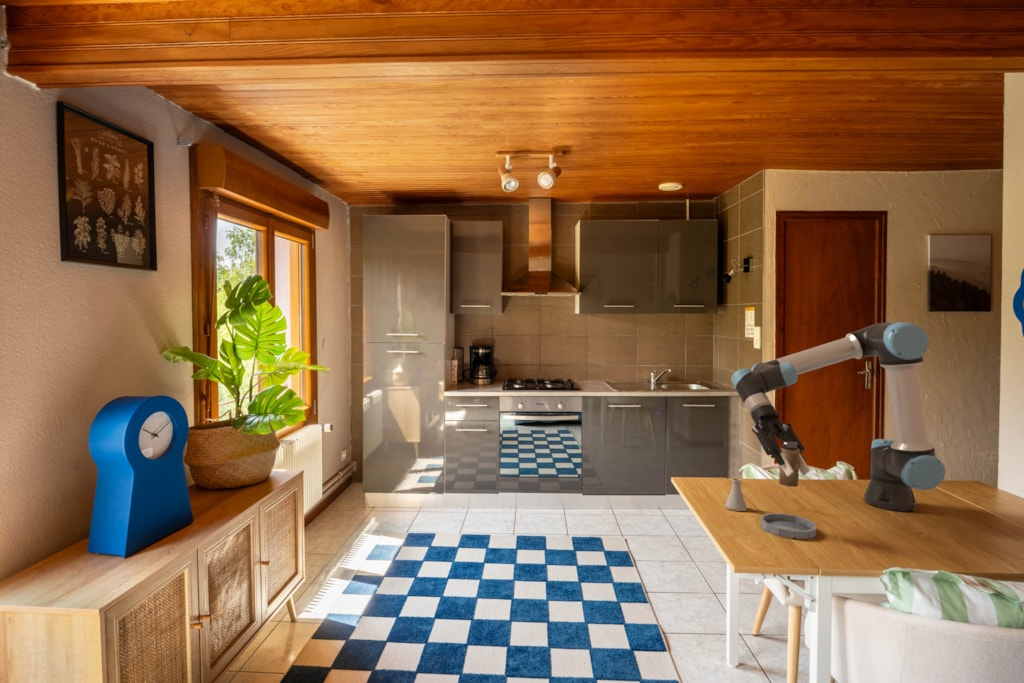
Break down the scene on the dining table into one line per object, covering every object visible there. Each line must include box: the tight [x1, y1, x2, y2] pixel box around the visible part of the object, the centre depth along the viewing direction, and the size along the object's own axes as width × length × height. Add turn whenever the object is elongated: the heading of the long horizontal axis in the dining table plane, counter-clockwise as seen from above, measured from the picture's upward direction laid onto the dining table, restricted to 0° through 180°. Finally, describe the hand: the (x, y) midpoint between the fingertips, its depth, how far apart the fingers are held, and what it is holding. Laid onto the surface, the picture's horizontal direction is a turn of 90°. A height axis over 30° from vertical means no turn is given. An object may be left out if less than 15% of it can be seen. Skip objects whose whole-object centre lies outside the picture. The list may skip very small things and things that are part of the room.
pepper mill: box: [778, 441, 800, 488], centre depth 164 cm, size 5×5×13 cm
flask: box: [724, 477, 748, 512], centre depth 183 cm, size 7×7×10 cm
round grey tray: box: [760, 512, 817, 540], centre depth 164 cm, size 15×15×2 cm
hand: (798, 473), depth 160 cm, fingers closed on pepper mill, 5 cm apart
